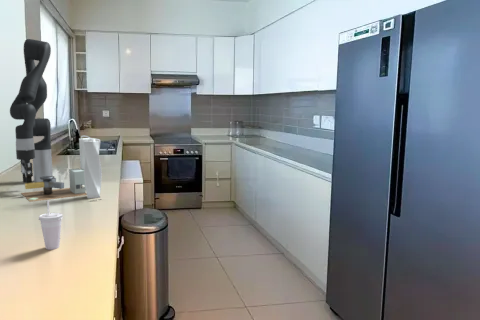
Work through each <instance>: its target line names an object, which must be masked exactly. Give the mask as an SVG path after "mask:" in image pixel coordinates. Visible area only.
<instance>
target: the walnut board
mask: <svg viewBox="0 0 480 320" xmlns="http://www.w3.org/2000/svg"><path fill="white" fill-rule="evenodd" d="M21 194H22V196H23V197H24V198H25V199H26V201H28V202H29V203H31V202H33V203H34V202H39V201H40V202H41V201H49V200H57V199H64V198H65V199H66V198H73V197H74V198H75V197H82V196H87V192H85V193H80V194H75V193H73V192H72V191H70V187H64V188H62V189H59V188H52V194H44V192H43V190H37V191H35V190H33V191H28V192H21ZM31 198H38V199H36V200H28V199H31Z"/></svg>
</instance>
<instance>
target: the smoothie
mask: <svg viewBox="0 0 480 320" xmlns="http://www.w3.org/2000/svg"><path fill="white" fill-rule="evenodd" d="M46 205H47V206H46V209H47V210H46V211H47V213H43V214H40V215H38V220H39V222H40V225H41V226H40V227H41V232H42V237H43V242H44V246H45V249H46V250H57V249H59V248H60V244H61V243H60V241H61V232H62V229H61V228H62V219H63V218H64V217H63V213H61V212H50V201H49V200H46Z"/></svg>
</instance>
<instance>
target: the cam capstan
mask: <svg viewBox="0 0 480 320" xmlns="http://www.w3.org/2000/svg"><path fill="white" fill-rule="evenodd" d="M40 179H41V180H43V181H42V182H34V181H32V182H31V183H24V190H31V189H43V190H42V191H43V192H44V194H52V190H53V189H63V188H65V182H64V181H63V182H62V181H57V177H55V176H54V175H53V176H43V177H40Z"/></svg>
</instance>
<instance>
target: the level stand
mask: <svg viewBox="0 0 480 320" xmlns="http://www.w3.org/2000/svg"><path fill="white" fill-rule="evenodd" d="M68 174H69V175H68V176H69V188H70V191H72V192H73V193H75V194H80V193H86V190H85V178H84V171H83V170H81V169H80V168H70V169H68Z"/></svg>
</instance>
